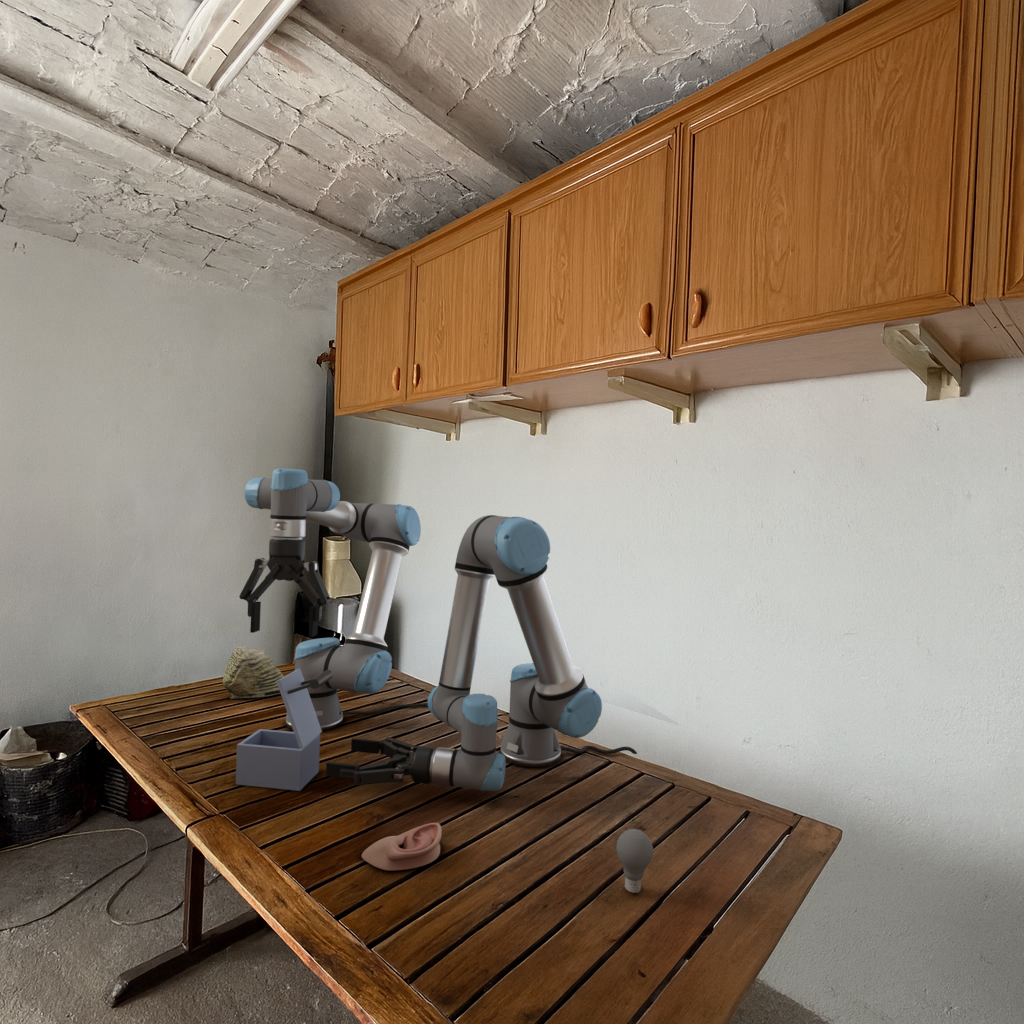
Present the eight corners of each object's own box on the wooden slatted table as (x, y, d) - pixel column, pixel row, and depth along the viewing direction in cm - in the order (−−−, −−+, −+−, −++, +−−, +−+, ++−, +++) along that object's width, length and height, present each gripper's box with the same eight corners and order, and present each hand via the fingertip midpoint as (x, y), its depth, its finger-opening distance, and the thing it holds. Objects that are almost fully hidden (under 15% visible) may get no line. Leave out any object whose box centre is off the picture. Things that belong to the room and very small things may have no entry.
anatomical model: (354, 842, 109) (381, 811, 120) (353, 865, 109) (380, 831, 121) (427, 854, 107) (448, 821, 118) (426, 877, 107) (447, 842, 118)
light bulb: (610, 879, 108) (613, 822, 108) (644, 879, 109) (647, 822, 109) (619, 902, 102) (622, 840, 102) (655, 901, 103) (658, 840, 103)
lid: (276, 681, 136) (311, 669, 135) (296, 669, 146) (329, 658, 145) (299, 749, 136) (334, 737, 135) (318, 732, 145) (351, 721, 144)
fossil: (218, 695, 195) (220, 647, 195) (278, 685, 208) (279, 640, 207) (228, 703, 189) (230, 653, 188) (289, 692, 201) (290, 645, 201)
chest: (235, 784, 138) (236, 744, 137) (258, 766, 147) (259, 728, 147) (299, 791, 136) (301, 750, 136) (318, 772, 146) (320, 734, 145)
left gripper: (225, 536, 138) (221, 633, 139) (334, 542, 135) (330, 641, 136) (243, 534, 146) (240, 626, 146) (347, 540, 143) (344, 633, 143)
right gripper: (416, 810, 125) (314, 799, 128) (446, 759, 149) (360, 751, 152) (418, 772, 125) (315, 762, 127) (447, 728, 149) (361, 720, 152)
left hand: (283, 633), depth 141 cm, fingers open, 13 cm apart
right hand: (339, 756), depth 140 cm, fingers open, 13 cm apart
